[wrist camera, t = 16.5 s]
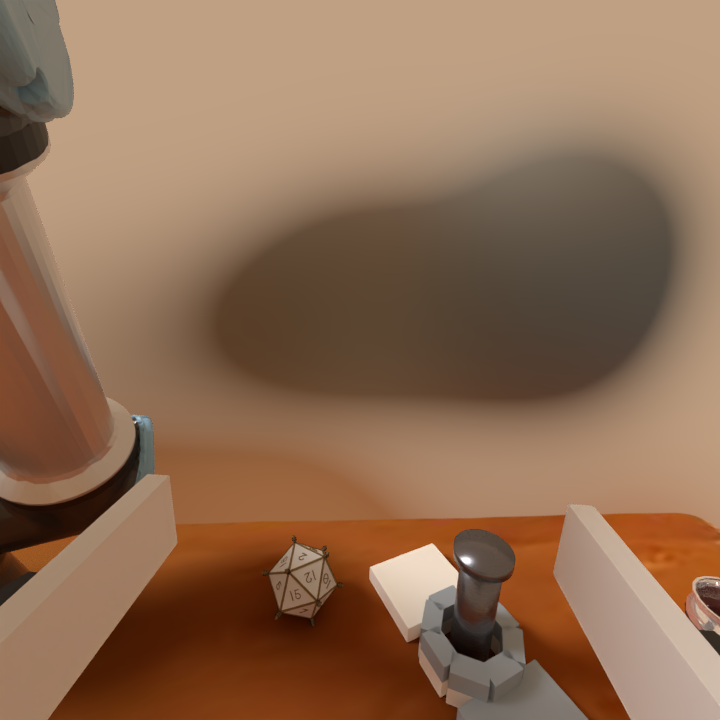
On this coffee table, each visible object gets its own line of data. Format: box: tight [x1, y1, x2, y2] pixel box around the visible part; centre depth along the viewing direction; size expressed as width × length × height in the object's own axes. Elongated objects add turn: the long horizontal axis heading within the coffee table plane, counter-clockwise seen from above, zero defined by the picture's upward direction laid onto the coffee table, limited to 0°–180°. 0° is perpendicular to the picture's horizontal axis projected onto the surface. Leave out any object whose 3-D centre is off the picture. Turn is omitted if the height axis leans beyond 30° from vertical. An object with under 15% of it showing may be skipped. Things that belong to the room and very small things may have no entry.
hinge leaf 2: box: [419, 585, 588, 720], centre depth 35 cm, size 18×10×4 cm, turn 26°
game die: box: [261, 535, 344, 627], centre depth 43 cm, size 9×8×10 cm
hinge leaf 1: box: [369, 543, 500, 708], centre depth 42 cm, size 18×10×2 cm, turn 26°
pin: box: [450, 529, 515, 662], centre depth 37 cm, size 6×6×14 cm
